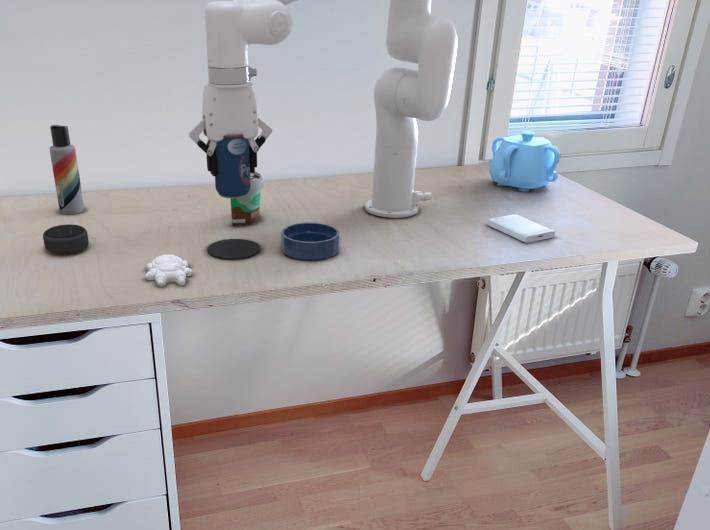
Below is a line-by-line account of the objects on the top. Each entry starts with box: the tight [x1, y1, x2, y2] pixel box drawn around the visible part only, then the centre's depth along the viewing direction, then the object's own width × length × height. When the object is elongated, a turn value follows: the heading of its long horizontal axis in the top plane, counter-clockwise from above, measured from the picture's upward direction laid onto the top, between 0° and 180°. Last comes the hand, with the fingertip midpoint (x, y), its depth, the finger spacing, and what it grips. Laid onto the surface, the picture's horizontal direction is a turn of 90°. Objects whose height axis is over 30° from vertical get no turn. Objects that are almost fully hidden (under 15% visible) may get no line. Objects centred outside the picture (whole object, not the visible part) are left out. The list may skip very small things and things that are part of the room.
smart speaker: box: [42, 223, 90, 256], centre depth 147 cm, size 9×9×4 cm
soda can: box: [214, 134, 251, 199], centre depth 138 cm, size 7×7×12 cm
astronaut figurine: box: [144, 254, 193, 288], centre depth 136 cm, size 9×12×3 cm
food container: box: [229, 171, 265, 227], centre depth 161 cm, size 12×6×10 cm, turn 168°
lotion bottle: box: [49, 124, 85, 215], centre depth 164 cm, size 6×6×20 cm
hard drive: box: [486, 213, 556, 244], centre depth 157 cm, size 2×8×12 cm
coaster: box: [206, 238, 261, 261], centre depth 147 cm, size 11×11×1 cm
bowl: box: [280, 221, 340, 261], centre depth 146 cm, size 12×12×4 cm
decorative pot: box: [488, 130, 561, 192], centre depth 184 cm, size 16×16×14 cm
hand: (232, 172), depth 139 cm, fingers closed on soda can, 7 cm apart
